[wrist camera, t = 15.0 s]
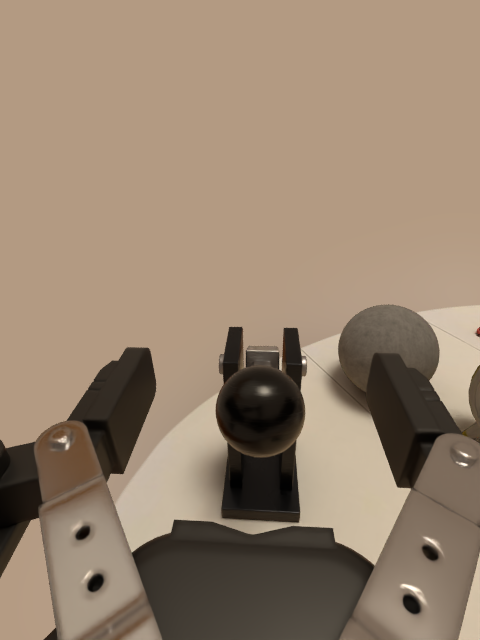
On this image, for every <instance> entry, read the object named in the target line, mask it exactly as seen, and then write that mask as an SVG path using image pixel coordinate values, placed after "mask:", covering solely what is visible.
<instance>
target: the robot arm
mask: <svg viewBox="0 0 480 640" xmlns="http://www.w3.org/2000/svg"><path fill="white" fill-rule="evenodd" d="M155 392H156V379H155V373H154V368H153V363H152V357H151V353H150V350H149V348H131V347H130V348H129V347H128V348H126V349H125V351H124V352H123V354H122V356H121V357H120V359H119V361H111V362H110V363H109V364H108V365H106V366H105V367H103V368H102V369H101V370H100V372H99V373H98V374H97V376H96V377H95V379H94V382H92V383H91V385H90V387H89V388H88V390H87V391H86V393H85V394H84V395H83V397H82V399H81V400H80V401H79V403H78V405H77V406H76V408H75V409H74V410H73V412H72V414H71V415H70V417H69V418H68V419H67V421H65V422H60V423H58V424H55V425H53V426H51V427H50V428H48V429H47V430H45V431H44V432H43V433H42V434H41V435H40V436H39V437H38V439H37V440H36V442H33V443H29V444H24V445H19V446H15V447H10V448H5V446H4V444H3V442H2V441H1V440H0V577H1V576H2V573H3V571H4V570H5V568H6V566H7V564H8V562H9V560H10V559H11V557H12V555H13V553H14V551H15V549H16V547H17V545H18V543H19V542H20V540H21V538H22V536H23V534H24V532H25V530H26V528H27V527H28V525H29V523H30V521H31V520H33V519H36V518H39V519H40V525H41V532H42V538H43V545H44V551H45V558H46V565H47V572H48V578H49V585H50V591H51V598H52V605H53V611H54V618H55V624H56V628H55V629H54V630H53V631H52V632H51V633H50V634H49V635H48V636H47V637H46V638H45V639H44V640H458V638H459V634H460V630H461V626H462V622H463V618H464V614H465V610H466V606H467V602H468V598H469V594H470V589H471V585H472V581H473V577H474V573H475V569H476V565H477V561H478V557H479V553H480V443H479V442H477V441H475V440H473V439H471V438H469V437H467V436H464V435H463V434H462V433H461V431H460V430H459V428H458V426H457V425H456V423H455V422H454V420H453V418H452V417H451V415H450V414H449V412H448V410H447V409H446V407H445V406H444V404H443V402H442V401H440V398H439V396H438V395H437V393H436V391H434V388H433V387H432V385H431V383H430V382H429V380H428V379H427V377H425V376H424V375H423V374H422V373H420V372H419V371H418V370H417V369H415V368H407V367H406V365H405V363H404V361H403V360H402V358H401V356H400V355H399V354H398V353H374V355H373V358H372V362H371V367H370V372H369V377H368V381H367V386H366V399H367V404H368V407H369V410H370V412H371V415H372V418H373V421H374V423H375V426H376V429H377V432H378V435H379V437H380V440H381V443H382V446H383V449H384V451H385V454H386V457H387V460H388V462H389V465H390V468H391V471H392V474H393V476H394V479H395V482H396V485H397V487H399V488H411V491H410V493H409V495H408V497H407V499H406V501H405V503H404V505H403V508H402V510H401V512H400V514H399V516H398V518H397V520H396V522H395V524H394V527H393V529H392V531H391V533H390V535H389V537H388V539H387V541H386V544H385V546H384V548H383V550H382V552H381V554H380V556H379V558H378V561H377V563H376V565H375V566H374V565H373V564H372V563H371V562H370V561H369V560H367V559H366V558H365V557H363V556H362V555H361V554H359V553H357V552H356V551H354V550H352V549H351V548H349V547H346V546H344V545H342V544H340V543H337V542H335V539H334V533H333V528H319V527H300V526H291V527H287V528H282V529H278V530H273V531H269V532H264V533H260V534H254V535H251V534H247V533H244V532H241V531H238V530H235V529H232V528H229V527H226V526H223V525H220V524H217V523H214V522H206V521H187V520H174V523H173V527H172V531H171V533H169V534H165V535H162V536H160V537H157V538H155V539H153V540H151V541H149V542H147V543H145V544H144V545H142V546H140V547H139V548H137V549H136V550H135V551H134V552H132V553H131V550H130V547H129V545H128V542H127V539H126V536H125V533H124V531H123V528H122V525H121V522H120V519H119V516H118V514H117V511H116V508H115V505H114V502H113V500H112V497H111V494H110V491H109V488H108V486H107V481H108V479H109V476H110V474H111V473H112V474H123V473H124V471H125V468H126V466H127V464H128V461H129V458H130V456H131V453H132V451H133V449H134V446H135V444H136V441H137V439H138V436H139V434H140V431H141V429H142V427H143V424H144V422H145V419H146V416H147V414H148V412H149V409H150V407H151V404H152V402H153V399H154V396H155Z"/></svg>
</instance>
